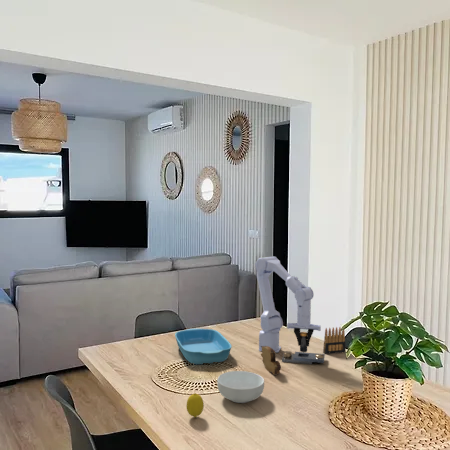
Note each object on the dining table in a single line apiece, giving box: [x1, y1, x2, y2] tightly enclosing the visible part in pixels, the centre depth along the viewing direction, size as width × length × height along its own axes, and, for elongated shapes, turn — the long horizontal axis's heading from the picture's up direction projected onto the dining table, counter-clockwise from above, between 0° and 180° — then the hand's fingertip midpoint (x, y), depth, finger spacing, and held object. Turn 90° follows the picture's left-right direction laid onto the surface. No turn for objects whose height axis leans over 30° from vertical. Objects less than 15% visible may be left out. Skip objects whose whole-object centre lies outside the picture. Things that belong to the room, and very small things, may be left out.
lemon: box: [186, 392, 204, 419], centre depth 146 cm, size 6×6×8 cm
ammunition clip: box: [322, 326, 347, 355], centre depth 210 cm, size 11×2×12 cm, turn 105°
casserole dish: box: [174, 327, 233, 365], centre depth 208 cm, size 37×22×7 cm, turn 17°
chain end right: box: [293, 351, 326, 365], centre depth 198 cm, size 13×8×3 cm, turn 75°
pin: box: [299, 331, 308, 353], centre depth 199 cm, size 3×3×8 cm
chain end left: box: [281, 350, 313, 365], centre depth 200 cm, size 13×8×3 cm, turn 75°
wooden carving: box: [260, 346, 282, 376], centre depth 187 cm, size 16×5×10 cm, turn 21°
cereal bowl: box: [216, 370, 265, 404], centre depth 160 cm, size 17×17×7 cm
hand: (303, 345), depth 199 cm, fingers closed on pin, 3 cm apart
